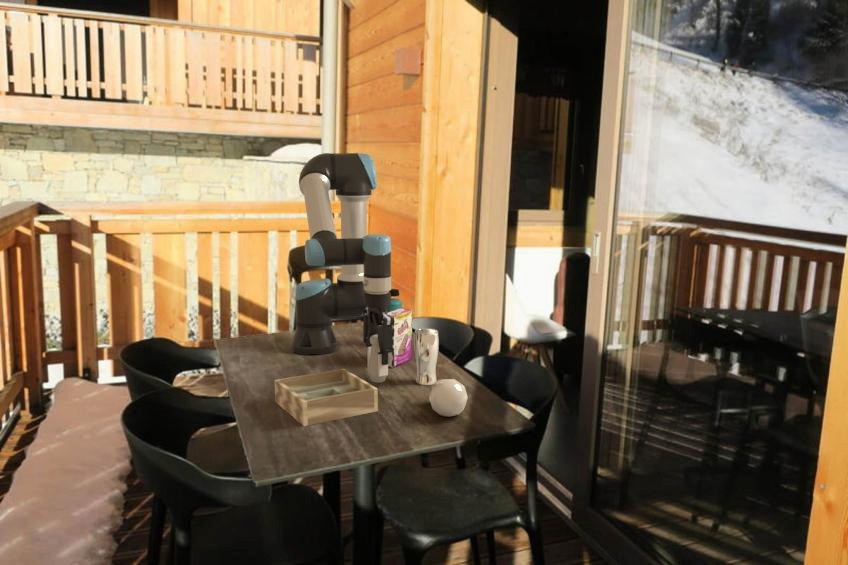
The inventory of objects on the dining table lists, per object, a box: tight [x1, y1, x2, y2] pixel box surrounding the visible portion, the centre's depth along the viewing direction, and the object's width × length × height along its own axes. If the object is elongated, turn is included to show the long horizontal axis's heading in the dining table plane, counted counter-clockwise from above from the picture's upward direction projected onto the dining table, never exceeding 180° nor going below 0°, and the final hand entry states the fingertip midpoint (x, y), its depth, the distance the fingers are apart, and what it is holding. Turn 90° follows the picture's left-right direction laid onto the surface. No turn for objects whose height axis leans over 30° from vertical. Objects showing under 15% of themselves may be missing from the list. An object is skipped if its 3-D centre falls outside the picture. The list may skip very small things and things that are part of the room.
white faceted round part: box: [428, 378, 469, 418], centre depth 180 cm, size 9×10×15 cm
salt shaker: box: [366, 334, 388, 383], centre depth 198 cm, size 6×6×13 cm
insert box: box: [274, 368, 379, 427], centre depth 183 cm, size 20×20×6 cm
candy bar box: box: [380, 308, 413, 369], centre depth 221 cm, size 11×5×16 cm, turn 150°
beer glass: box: [413, 327, 440, 386], centre depth 203 cm, size 7×7×15 cm
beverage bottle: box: [386, 288, 403, 313], centre depth 239 cm, size 6×7×20 cm
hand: (377, 371), depth 199 cm, fingers closed on salt shaker, 6 cm apart
